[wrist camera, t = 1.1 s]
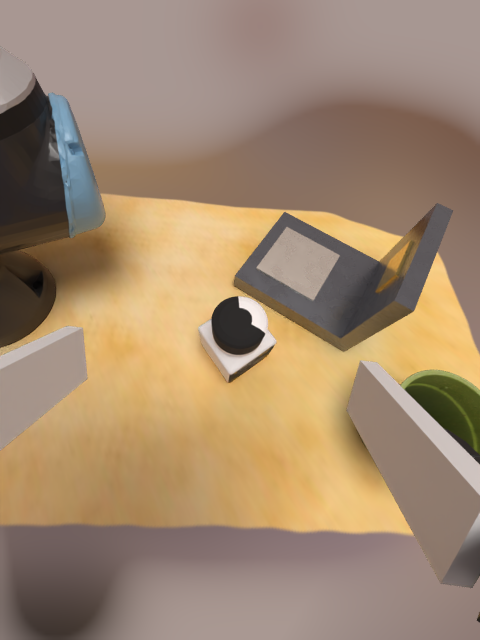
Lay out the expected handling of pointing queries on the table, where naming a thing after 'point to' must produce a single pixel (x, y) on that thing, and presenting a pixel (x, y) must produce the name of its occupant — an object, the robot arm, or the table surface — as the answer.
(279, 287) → the bookend
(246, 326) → the medicine bottle
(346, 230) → the table surface
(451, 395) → the plant pot
